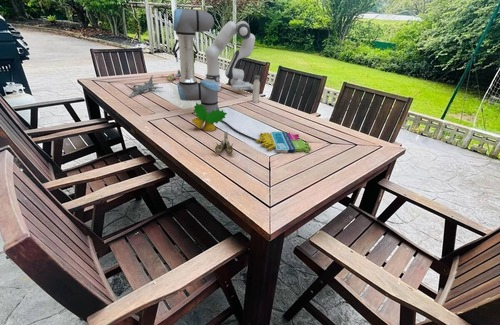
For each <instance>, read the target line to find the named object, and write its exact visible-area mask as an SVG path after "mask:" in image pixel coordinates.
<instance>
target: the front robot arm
mask: <svg viewBox="0 0 500 325" xmlns="http://www.w3.org/2000/svg"><path fill="white" fill-rule="evenodd" d="M214 25H215V19H214V16H213V15H212V14H211V13H209V12H207V11H205V10H201V9H188V8H175V9H174V10H173V24H172V30H173V31H174V32H175V35H176V37H178V39H177V38H175V42H174V45H173V48H172V49H171V52H172V53H174V58H175V59H176V63H180V73H181V76H180V77H179V78H180V79H179V80H178V82H176V87H177V92H178V96H179V99H180V100H181V101H185V102H188V101H189V102H190V101H193V102H194V101H198V102H199V101H200V104H201V106H204V109H206V112H208V113H211V112H212V110H214V111H216V110H217V109H219V111H221V110H220V108H219V102H218V96H219V94H218V93H219V91H218V86H217V84H216V83H215V82H212V81H207V80H204V79H202V80H201V79H200V81H199V82H198V80H197V78H196V77H195V76H196V75H195V63H196V58H197V54H199V51H198V48H197V46H196V45H195V41H194V38H195V37H196V33H204V32H207V31H210V30H211V29H213V27H214ZM177 45H178V46H177ZM178 51H179V60H178ZM178 61H179V62H178ZM208 113H207V115H208ZM222 123H224V124H225V125H226V126H227V127H228V128H230V129H231V130H232V131H234V132H236V133H238V134H240V135H242V136H243V137H246V138H248V139H251V140H253V141H255V142H256V141H257V139H258V138H255V137H252V136H249V135H248V134H245V133H243V132H241V131H239V130H238V129H236V128H234V127H233V126H231V125H230V124H229V123H228V122H226V121H225V120H223V119H222ZM262 143H263V142H260V143H259V144H262Z"/></svg>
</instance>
